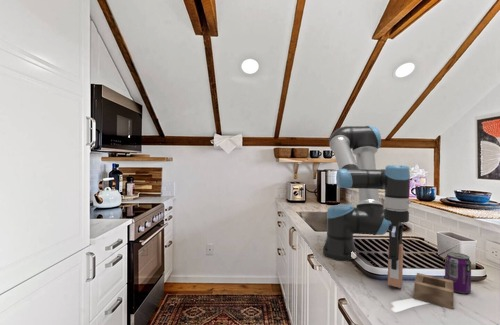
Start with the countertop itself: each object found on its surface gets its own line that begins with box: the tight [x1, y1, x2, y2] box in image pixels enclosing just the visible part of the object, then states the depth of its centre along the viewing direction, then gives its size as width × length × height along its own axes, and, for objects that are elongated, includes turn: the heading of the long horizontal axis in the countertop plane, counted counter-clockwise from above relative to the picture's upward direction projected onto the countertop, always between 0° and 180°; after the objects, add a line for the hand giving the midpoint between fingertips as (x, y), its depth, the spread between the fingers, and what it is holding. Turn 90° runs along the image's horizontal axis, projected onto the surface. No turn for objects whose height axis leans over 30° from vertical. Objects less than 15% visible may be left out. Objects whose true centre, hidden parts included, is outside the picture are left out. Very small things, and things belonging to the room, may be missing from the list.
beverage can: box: [444, 251, 472, 294], centre depth 91 cm, size 7×7×12 cm
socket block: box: [413, 272, 455, 310], centre depth 86 cm, size 10×10×5 cm
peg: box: [387, 243, 404, 289], centre depth 93 cm, size 4×4×14 cm
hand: (395, 275), depth 93 cm, fingers closed on peg, 4 cm apart
